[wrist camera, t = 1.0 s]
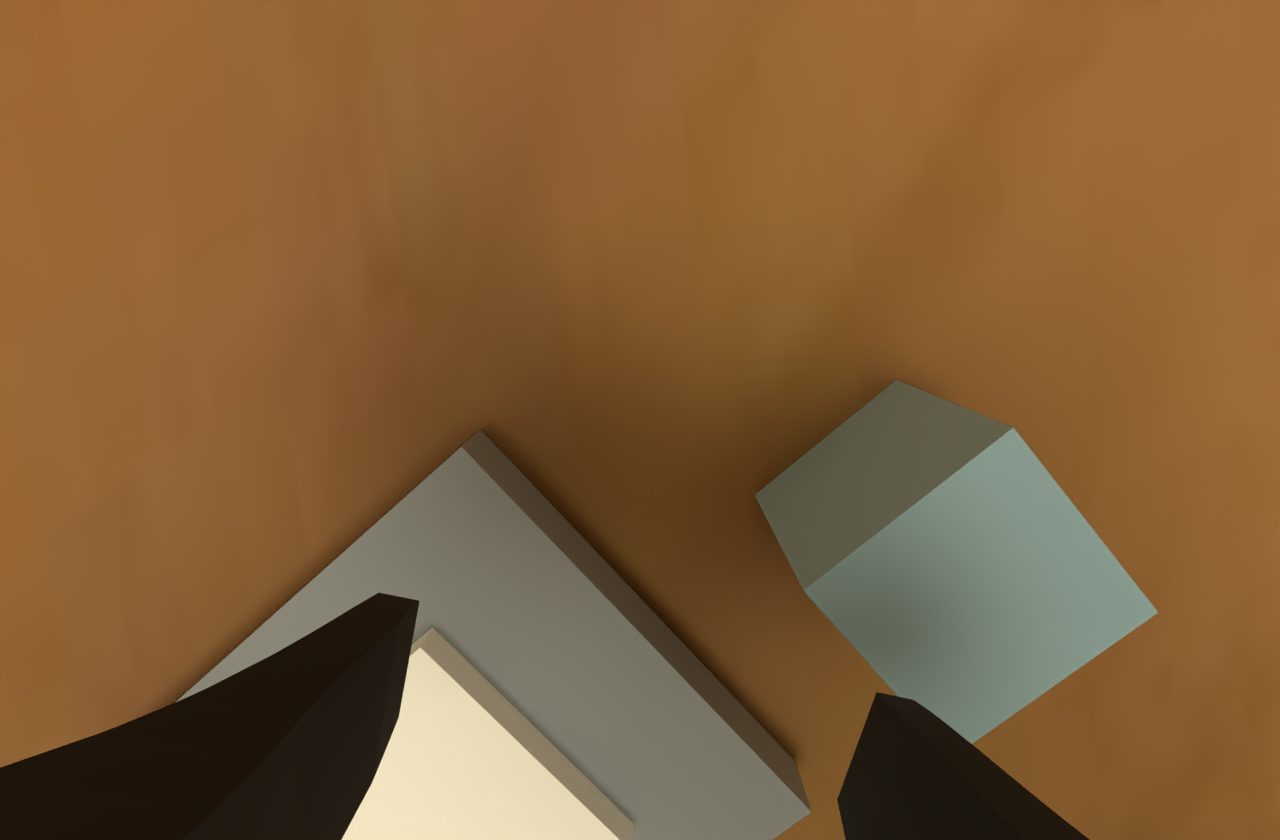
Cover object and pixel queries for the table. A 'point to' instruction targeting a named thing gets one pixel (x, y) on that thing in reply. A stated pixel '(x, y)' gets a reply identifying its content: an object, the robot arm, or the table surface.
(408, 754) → the base board
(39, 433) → the table surface
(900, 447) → the block
